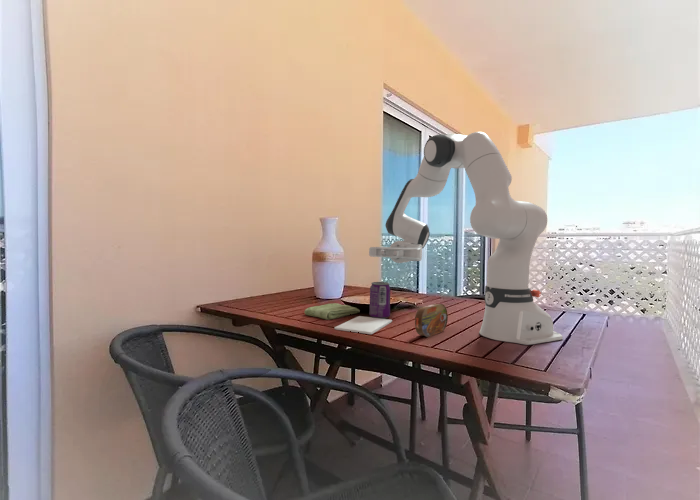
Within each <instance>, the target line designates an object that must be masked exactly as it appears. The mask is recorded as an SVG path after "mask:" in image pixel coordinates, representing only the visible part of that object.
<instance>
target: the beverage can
mask: <svg viewBox="0 0 700 500" xmlns="http://www.w3.org/2000/svg"><path fill="white" fill-rule="evenodd" d="M368 314H369V317H372V318H380V319H388V318H389V317H390V316H391V287H390V283H389V282H386V281H373V282H371V285H370V288H369V313H368Z"/></svg>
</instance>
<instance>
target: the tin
mask: <svg viewBox="0 0 700 500" xmlns="http://www.w3.org/2000/svg"><path fill="white" fill-rule="evenodd" d="M448 315H449V314H448V309H447V307H446V305H444V304H443V303H433V304H429V305H426V306H422V307H420V308H418V309H417V311H416V313H415V316H414V326H415V331H416V334H417V335H419V336H420V337H421V336H422V337H426V338H430V337H433V336H435V335H438V334H440V333H442V332H444V331H445V329H446V328H447V325H448V318H449V316H448Z"/></svg>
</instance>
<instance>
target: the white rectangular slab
mask: <svg viewBox="0 0 700 500" xmlns="http://www.w3.org/2000/svg"><path fill="white" fill-rule="evenodd" d="M392 322H393V320H392V319H388V318H385V319H380V318H373V317H371V316H362V315H359V316H355V317H354V318H352V319H350V320H348V321H344V322H343V323H341V324H339V325H337V326H334V330H337V331H344V332H350V331H351V332H352V333H358V332H359V334H364V335H365V334H367V335H373V334H374V333H376V332H378V331H380V330H381V329H383V328H384V327H386V326H388V325H389V324H391V323H392Z"/></svg>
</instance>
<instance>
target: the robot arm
mask: <svg viewBox="0 0 700 500" xmlns="http://www.w3.org/2000/svg"><path fill="white" fill-rule="evenodd" d="M451 169H464V171H465V173H466V175H467V178H468V179H469V183H470V185H471V187H472V189H473V192H474V193H473V194H474V197H475V205H474V207H473V208H472V209H471V213H470V217H469V221H470V226H471V229H472V230H473V231H474V233H476V234H477V235H480V236H482V237H486V238H489V239H492V240H493V239H496V240H497V239H499V241H498V244H497V246H496V249H495V250H494V252H493V253H492V254H491V255H490V256H489V257H488V259H487V262H486V263H487V265H486V266H487V267H486V271H487V272H486V285H485V287H484V288H485V289H484V304H485V305H484V306H485V307H484V314H483V320H482V324H481V325H480V326H481V327H480V330H479V335H481V336H483V337H485V338H488V339H491V340H495V341H498V342H499V341H501V342H507V343H515V344H521V345H528V346H531V345H536V344H543V343H548V342H554V341H559V340H560V341H561V340H563V339H564V338H563V335H562V334H561V333H559V332H557V331H554V322H553V319H552V316H551V315H550V314H549V313H548V312H547V311H545V310H544V309H543V308H541V306H540V305H538V304H537V303H536V302H534V297H535V298H541V297H542V292H541V290H539V289H532V290H531V289H530V288H529V285H530V284H529V283H530V282H529V279H530V264H531V258H532V254H533V250H534V248H535V246H536V242H537V241H538V238H539V237H540V235H541V234H542V233H543V232H544V231H545V229H546V228H547V225H548V216H547V212H546V210H544V209H543V208H542V207H541V206H539V205H538V204H534V203H532V202H531V201H522V200H515V199H514V198H512V196H511V194H510V190H509V189H510V185H511V183H512V179H513V176H512V174H511V172H510V170H509V168H508V166H507V164H506V162H505V160H504V158H503V156H502V154H501V152H500V150H499V149H498V147H497V145H496V143H495V142H494V141H493V140H492V139H491V137H489V135H488V134H487V133H485V132H483V131H474V132H471V133H469V134H466V135H465V134H460V133H458V134H457V133H453V134H452V133H451V134H450V133H448V134H439V133H438V134H436V135H432V136H430V137H429V138H428V139H427V140H426V142H425V145H424V148H423V158H422V160H421V163H420V166H419V168H418V172H417V174H416V176H415V177H414V178H411V179H409V180H408V181H407V182H406V183H405V184H404V186H403V188H402V190H401V192H400V193H399V196H398V198H397V200H396V202H395V205H394V206H393V209H392V211H391V213H390V214H389V216H388V218H387V219H386V222H385V225H384V226H385V229H386V231H387V233H388V234H389V235H391V236H393V237H394V236H395V237H397V238H399V239H401V240H396V241H393V242H392V243H391V244H390V246H370V247H369V249H368V250H369V251H368V255H369V256H370V257H374V258H376V257H377V258H390V259H391V260H392V262H394V263H396V264H403V263H409V262H422V258H423V249H424V248H425V246H426V245H427V243H428V241H429V238H430V227H429V226H428V224H427V223H425V222H423V221H420V220H418V219H415V218H413V217H411V216H409V215H407V214H406V213H405V210H406V209H407V207H408V205H409V202H410V200H411V199H412V198H432V197H435V196H437V195H440V193H442V192H443V190H444V188H445V186H446V183H447V182H448V178H449V175H450V172H451Z"/></svg>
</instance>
